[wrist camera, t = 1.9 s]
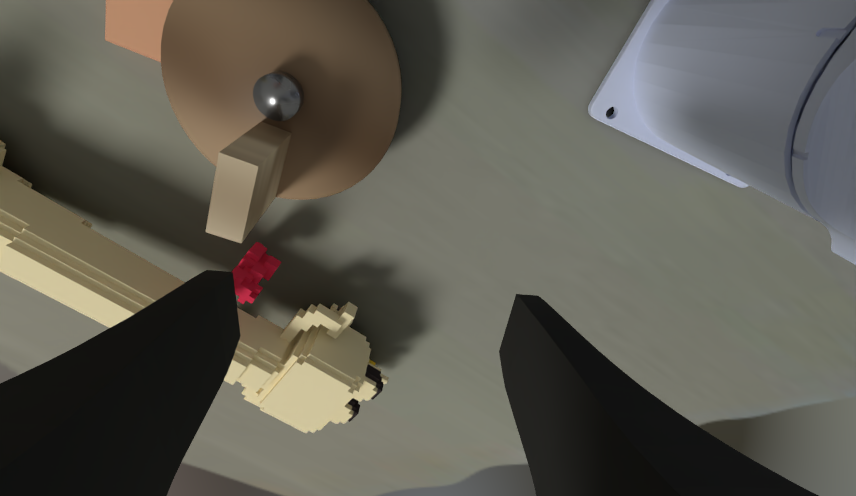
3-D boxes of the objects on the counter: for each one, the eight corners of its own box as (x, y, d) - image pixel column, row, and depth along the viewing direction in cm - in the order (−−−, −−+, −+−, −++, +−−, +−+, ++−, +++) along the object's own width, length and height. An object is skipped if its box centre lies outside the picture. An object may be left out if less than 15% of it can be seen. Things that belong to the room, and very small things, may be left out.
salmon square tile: (184, 2, 16) (177, 2, 15) (178, 64, 17) (170, 65, 16) (117, -27, 15) (106, -29, 15) (114, 39, 16) (105, 40, 16)
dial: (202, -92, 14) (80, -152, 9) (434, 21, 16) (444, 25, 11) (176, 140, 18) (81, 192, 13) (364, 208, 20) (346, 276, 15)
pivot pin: (309, 81, 15) (303, 85, 14) (298, 122, 16) (292, 128, 15) (265, 63, 15) (257, 66, 14) (256, 106, 15) (248, 110, 15)
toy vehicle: (-65, 200, 21) (338, 417, 28) (-361, 295, 13) (297, 565, 20) (-30, 31, 17) (429, 329, 24) (-415, 25, 9) (421, 469, 16)
